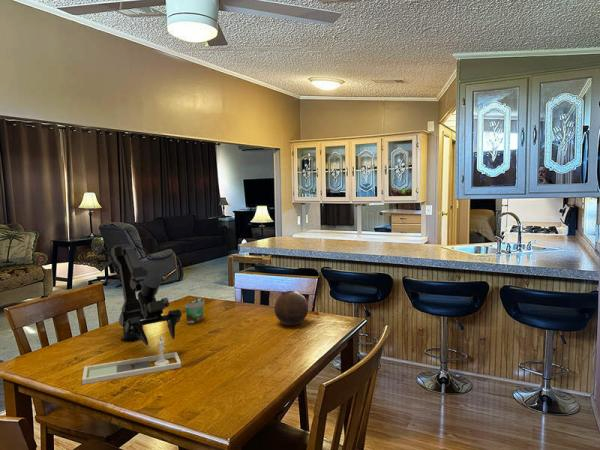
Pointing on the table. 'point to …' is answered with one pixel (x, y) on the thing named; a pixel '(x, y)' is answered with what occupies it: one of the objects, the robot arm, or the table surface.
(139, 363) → the trap box
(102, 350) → the table surface
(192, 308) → the food container
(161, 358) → the chess piece
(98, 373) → the pad
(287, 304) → the wooden sphere
